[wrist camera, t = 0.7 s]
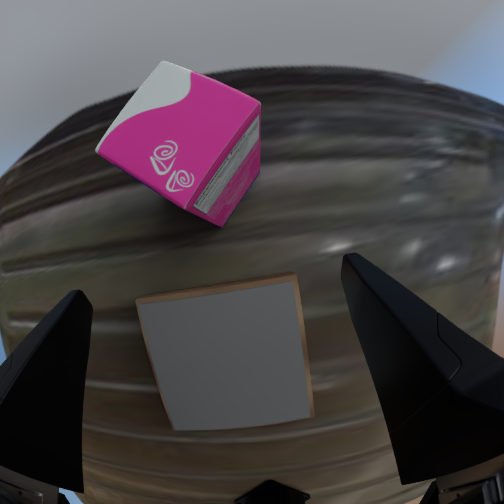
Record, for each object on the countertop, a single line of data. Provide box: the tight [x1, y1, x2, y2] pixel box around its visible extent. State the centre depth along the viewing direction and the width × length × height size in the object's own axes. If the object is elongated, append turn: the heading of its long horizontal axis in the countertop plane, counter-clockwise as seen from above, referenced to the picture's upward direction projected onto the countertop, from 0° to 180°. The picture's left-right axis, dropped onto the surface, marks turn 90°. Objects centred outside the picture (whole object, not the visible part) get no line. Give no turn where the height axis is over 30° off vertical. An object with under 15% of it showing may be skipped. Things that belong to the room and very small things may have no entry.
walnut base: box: [135, 272, 315, 431], centre depth 20 cm, size 12×12×3 cm
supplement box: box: [95, 61, 261, 227], centre depth 16 cm, size 6×6×12 cm
